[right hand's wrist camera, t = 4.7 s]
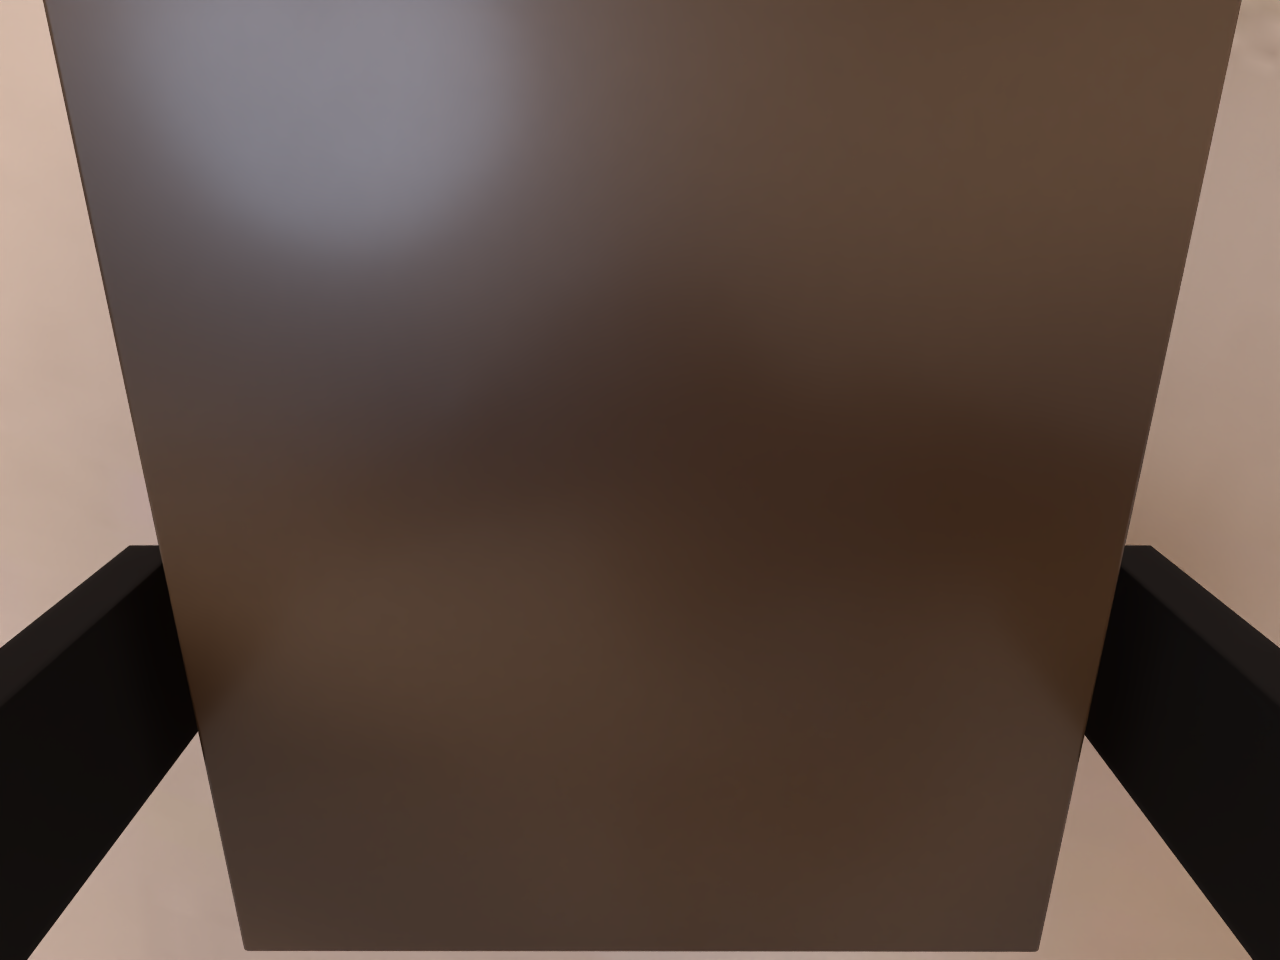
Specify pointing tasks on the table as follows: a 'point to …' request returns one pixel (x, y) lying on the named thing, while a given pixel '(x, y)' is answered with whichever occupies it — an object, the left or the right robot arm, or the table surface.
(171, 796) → the table surface
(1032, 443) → the cabinet
